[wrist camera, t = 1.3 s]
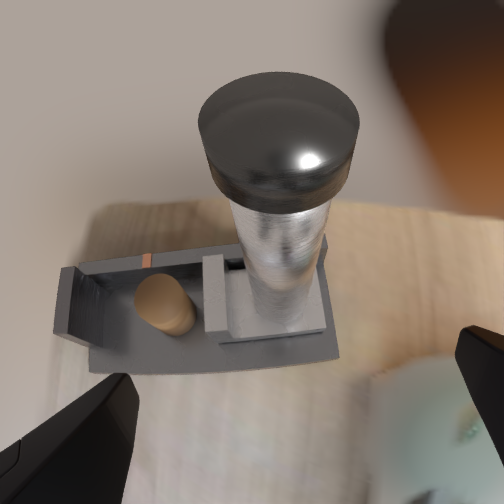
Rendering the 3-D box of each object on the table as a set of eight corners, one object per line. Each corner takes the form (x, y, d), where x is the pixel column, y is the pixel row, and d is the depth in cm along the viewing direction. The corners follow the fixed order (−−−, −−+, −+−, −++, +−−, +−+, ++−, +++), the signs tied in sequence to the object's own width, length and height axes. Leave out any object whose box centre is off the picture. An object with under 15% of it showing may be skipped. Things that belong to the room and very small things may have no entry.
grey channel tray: (319, 255, 22) (328, 215, 18) (337, 359, 19) (356, 345, 14) (100, 279, 23) (64, 250, 18) (94, 373, 19) (51, 362, 15)
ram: (313, 267, 21) (350, 64, 8) (324, 331, 19) (412, 172, 6) (213, 278, 21) (126, 92, 8) (217, 343, 19) (91, 210, 6)
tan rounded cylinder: (179, 345, 19) (161, 333, 16) (146, 320, 20) (124, 304, 17) (205, 308, 20) (192, 290, 17) (171, 285, 21) (154, 264, 18)
